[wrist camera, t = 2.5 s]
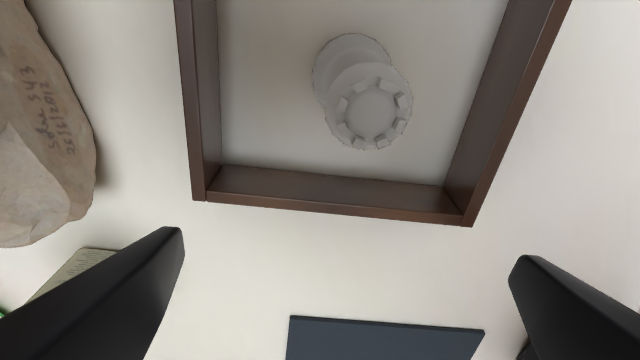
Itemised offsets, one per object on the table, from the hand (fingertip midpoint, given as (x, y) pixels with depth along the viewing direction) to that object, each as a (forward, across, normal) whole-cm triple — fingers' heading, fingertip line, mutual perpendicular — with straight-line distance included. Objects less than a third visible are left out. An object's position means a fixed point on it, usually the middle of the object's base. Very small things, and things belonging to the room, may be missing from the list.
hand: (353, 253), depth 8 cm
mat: (+12, -7, +26) cm, 29 cm away
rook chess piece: (+12, -1, -3) cm, 13 cm away
